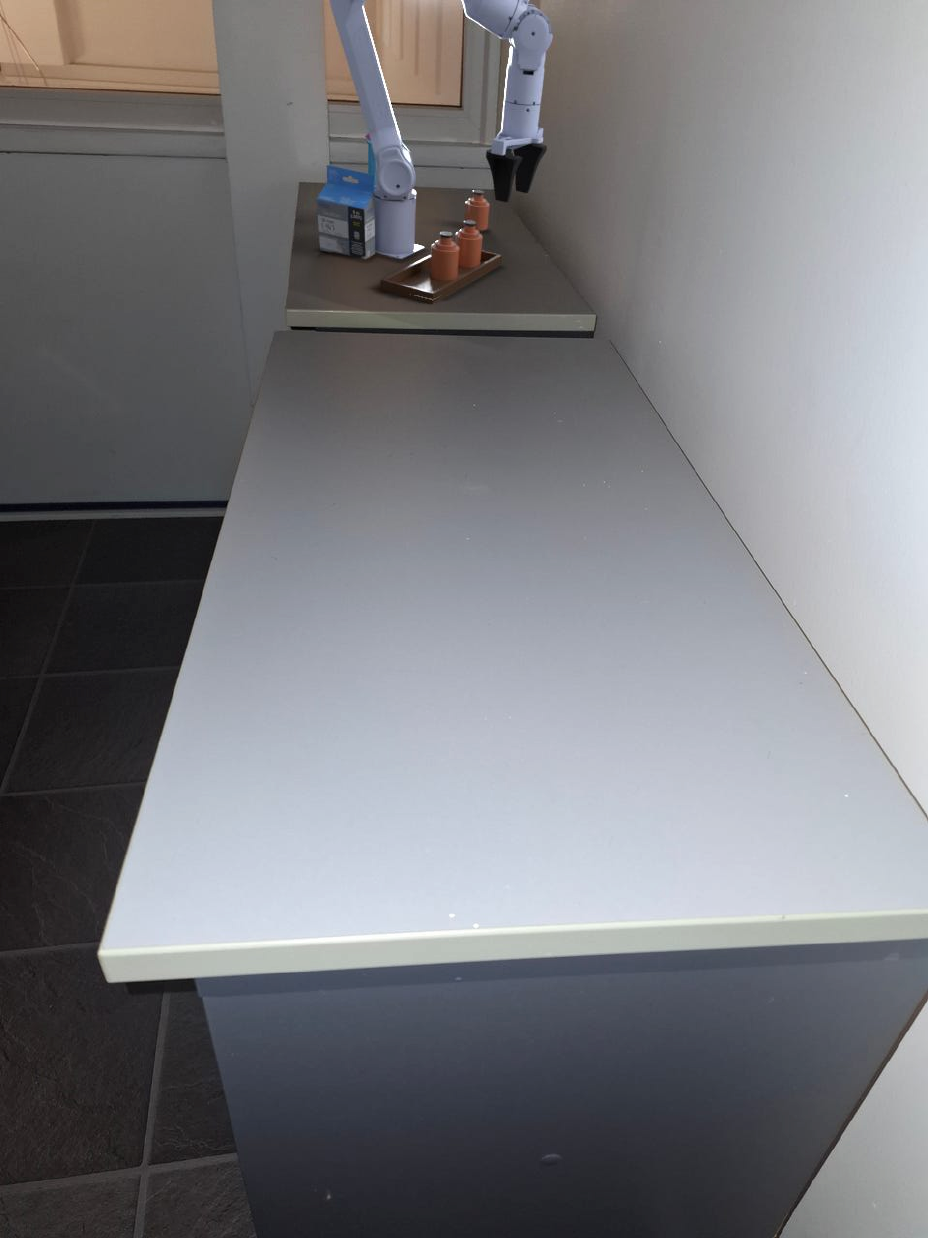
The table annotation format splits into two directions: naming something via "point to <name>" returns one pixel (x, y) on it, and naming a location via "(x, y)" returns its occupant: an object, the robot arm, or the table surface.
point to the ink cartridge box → (347, 213)
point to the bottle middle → (444, 258)
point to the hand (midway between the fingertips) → (512, 196)
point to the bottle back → (469, 245)
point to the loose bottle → (477, 210)
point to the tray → (420, 282)
